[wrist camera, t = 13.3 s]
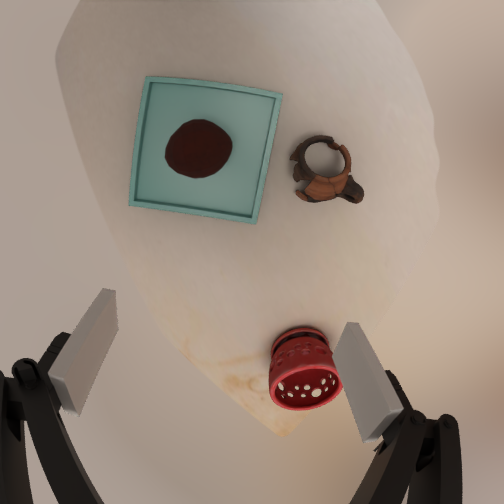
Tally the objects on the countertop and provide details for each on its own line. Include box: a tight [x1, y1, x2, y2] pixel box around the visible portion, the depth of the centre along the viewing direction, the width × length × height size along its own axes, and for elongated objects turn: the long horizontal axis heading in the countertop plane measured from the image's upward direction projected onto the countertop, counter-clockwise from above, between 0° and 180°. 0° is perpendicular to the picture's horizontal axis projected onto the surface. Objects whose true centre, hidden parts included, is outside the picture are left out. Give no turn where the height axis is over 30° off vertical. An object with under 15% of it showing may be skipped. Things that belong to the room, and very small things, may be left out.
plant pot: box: [269, 328, 343, 411], centre depth 50 cm, size 13×13×12 cm
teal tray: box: [129, 76, 283, 224], centre depth 39 cm, size 20×20×2 cm
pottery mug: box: [290, 135, 364, 204], centre depth 40 cm, size 12×10×8 cm
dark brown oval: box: [165, 119, 233, 179], centre depth 36 cm, size 8×9×8 cm
